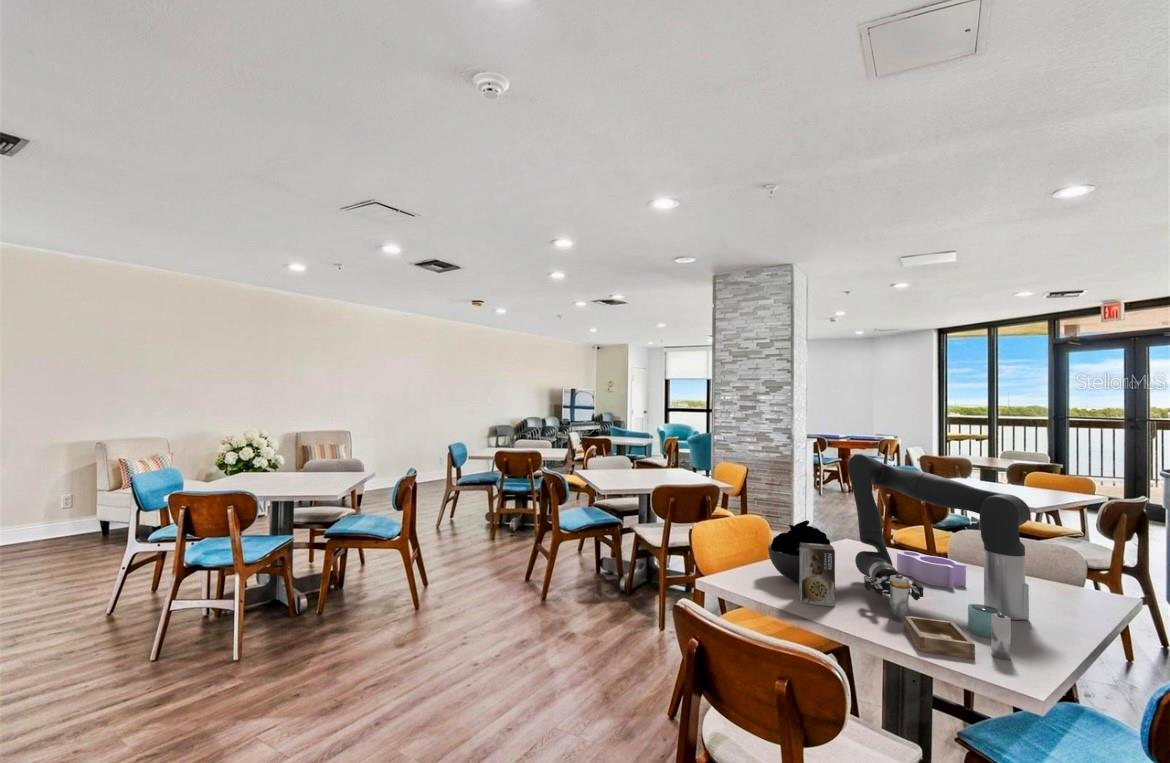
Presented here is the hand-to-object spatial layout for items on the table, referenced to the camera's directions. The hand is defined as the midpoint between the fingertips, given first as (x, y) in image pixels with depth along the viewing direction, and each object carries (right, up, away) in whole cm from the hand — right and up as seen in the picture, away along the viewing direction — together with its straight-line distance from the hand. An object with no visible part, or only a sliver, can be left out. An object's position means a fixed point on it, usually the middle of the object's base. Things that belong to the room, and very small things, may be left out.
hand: (898, 594), depth 147 cm
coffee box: (-17, -7, +11) cm, 22 cm away
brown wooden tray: (+1, -6, -15) cm, 16 cm away
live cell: (0, -7, 0) cm, 7 cm away
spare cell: (+11, -6, -22) cm, 25 cm away
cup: (+17, -7, -8) cm, 20 cm away
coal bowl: (-15, -8, +30) cm, 35 cm away
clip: (+32, -10, +38) cm, 51 cm away
